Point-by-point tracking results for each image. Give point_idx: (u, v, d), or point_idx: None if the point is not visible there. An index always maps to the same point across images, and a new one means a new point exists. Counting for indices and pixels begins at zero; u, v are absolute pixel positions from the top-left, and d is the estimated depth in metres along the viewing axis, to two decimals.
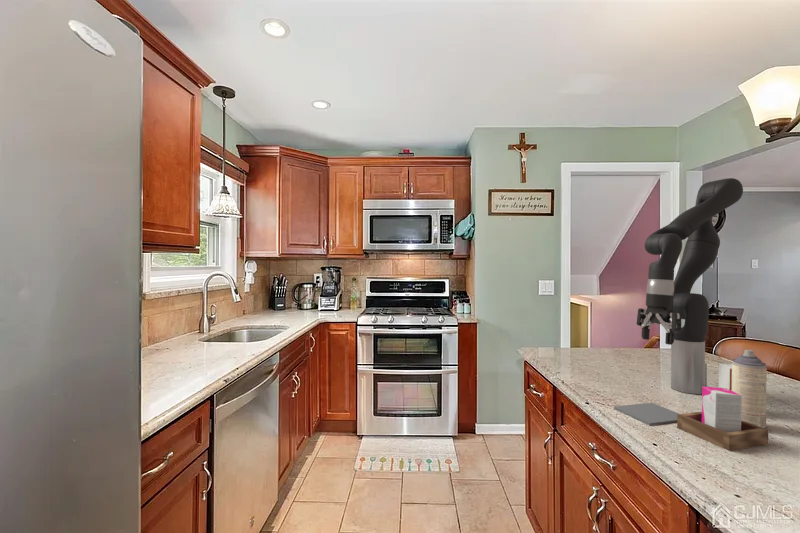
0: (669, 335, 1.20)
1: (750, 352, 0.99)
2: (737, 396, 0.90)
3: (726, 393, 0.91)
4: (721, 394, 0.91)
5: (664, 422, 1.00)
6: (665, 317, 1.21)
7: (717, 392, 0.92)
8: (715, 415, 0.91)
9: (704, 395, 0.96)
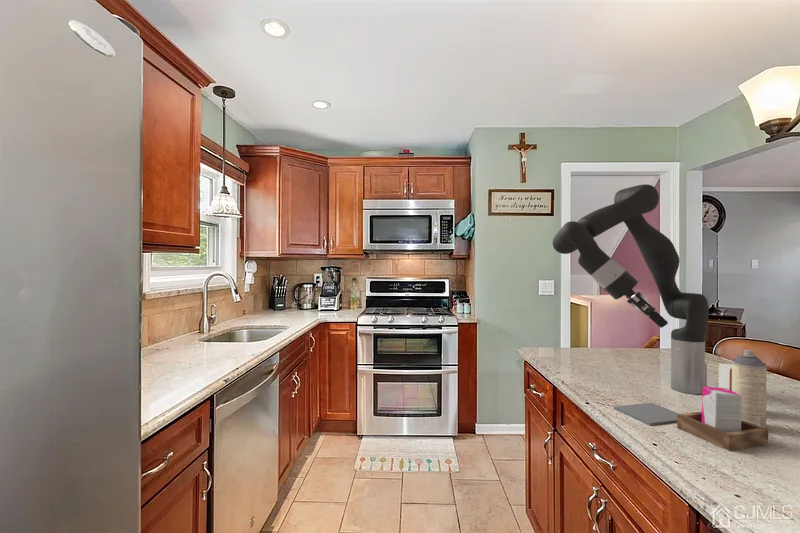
0: (653, 318, 0.96)
1: (750, 352, 0.99)
2: (737, 396, 0.90)
3: (726, 393, 0.91)
4: (721, 394, 0.91)
5: (664, 422, 1.00)
6: (634, 302, 0.99)
7: (717, 392, 0.92)
8: (715, 415, 0.91)
9: (704, 395, 0.96)
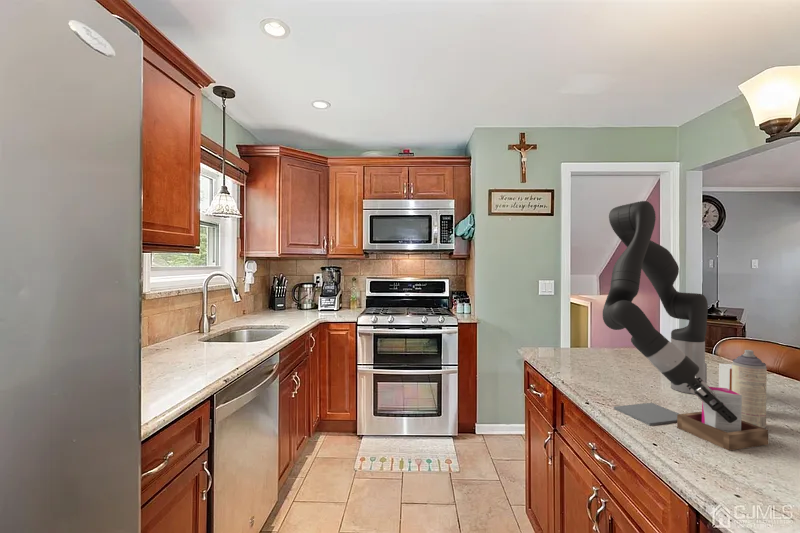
0: (721, 413, 0.90)
1: (750, 352, 0.99)
2: (737, 396, 0.90)
3: (726, 393, 0.91)
4: (721, 394, 0.91)
5: (664, 422, 1.00)
6: None
7: (717, 392, 0.92)
8: (715, 415, 0.91)
9: None
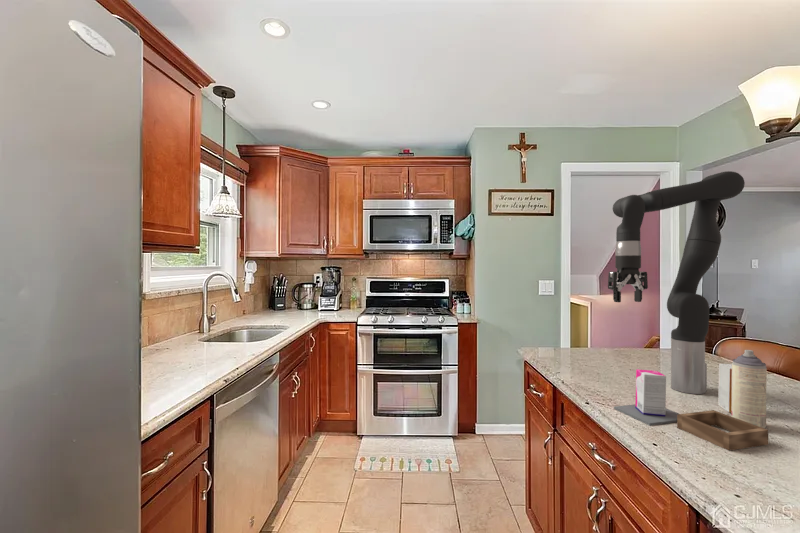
0: None
1: (750, 352, 0.99)
2: (662, 377, 1.04)
3: (653, 374, 1.05)
4: (649, 375, 1.04)
5: (664, 422, 1.00)
6: None
7: (646, 373, 1.05)
8: (643, 393, 1.05)
9: (637, 377, 1.09)
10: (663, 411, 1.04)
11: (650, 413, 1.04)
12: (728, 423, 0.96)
